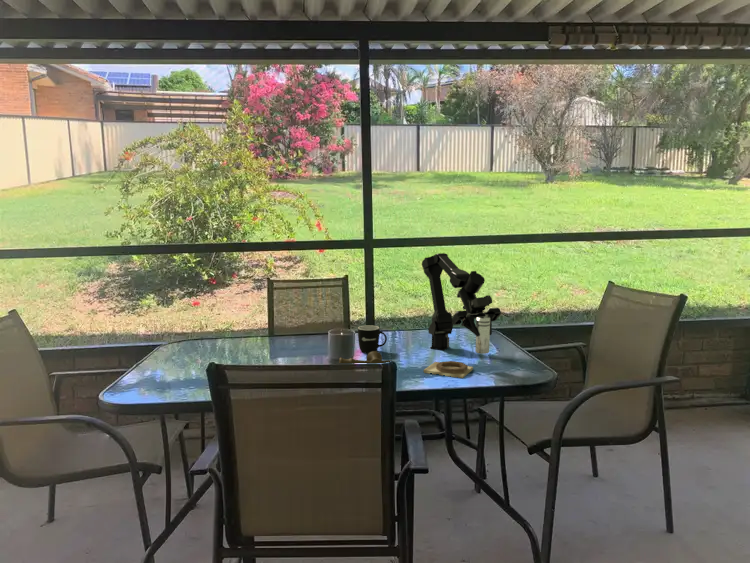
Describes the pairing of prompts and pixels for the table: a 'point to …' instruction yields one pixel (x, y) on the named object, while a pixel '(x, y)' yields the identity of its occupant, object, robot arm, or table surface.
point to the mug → (369, 338)
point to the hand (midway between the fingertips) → (484, 335)
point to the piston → (483, 334)
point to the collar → (449, 369)
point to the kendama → (371, 358)
